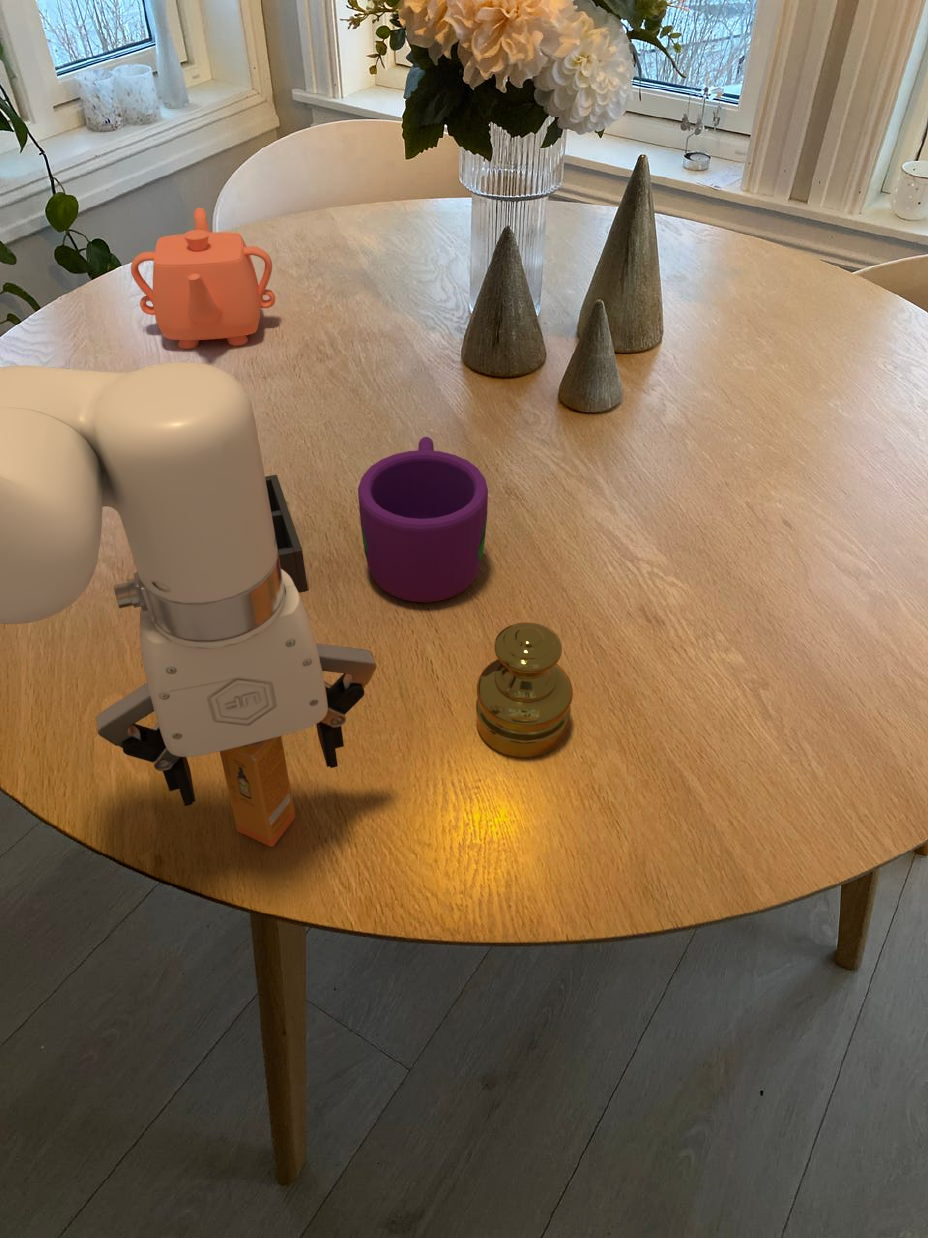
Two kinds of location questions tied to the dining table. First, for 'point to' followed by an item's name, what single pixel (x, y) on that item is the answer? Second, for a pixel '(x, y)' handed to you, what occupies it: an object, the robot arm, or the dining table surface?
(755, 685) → the dining table surface
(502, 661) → the brass knobbed weight
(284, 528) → the rack
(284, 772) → the supplement box
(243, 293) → the teapot
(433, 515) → the mug
